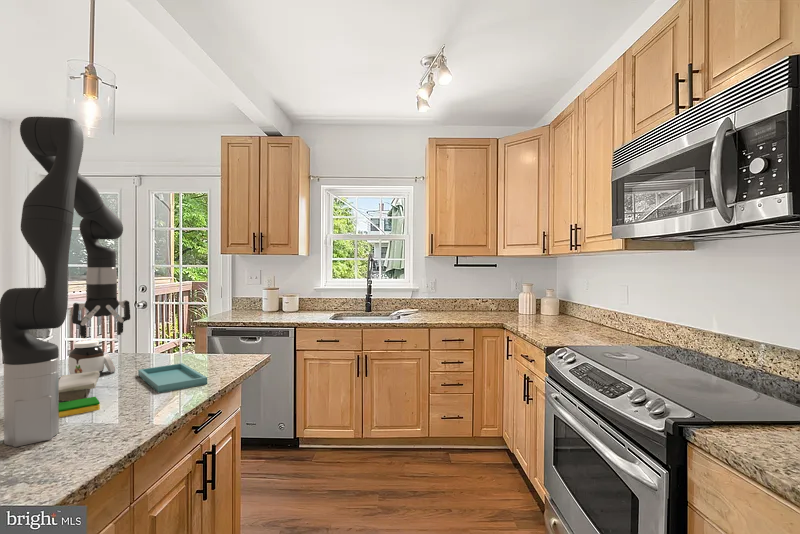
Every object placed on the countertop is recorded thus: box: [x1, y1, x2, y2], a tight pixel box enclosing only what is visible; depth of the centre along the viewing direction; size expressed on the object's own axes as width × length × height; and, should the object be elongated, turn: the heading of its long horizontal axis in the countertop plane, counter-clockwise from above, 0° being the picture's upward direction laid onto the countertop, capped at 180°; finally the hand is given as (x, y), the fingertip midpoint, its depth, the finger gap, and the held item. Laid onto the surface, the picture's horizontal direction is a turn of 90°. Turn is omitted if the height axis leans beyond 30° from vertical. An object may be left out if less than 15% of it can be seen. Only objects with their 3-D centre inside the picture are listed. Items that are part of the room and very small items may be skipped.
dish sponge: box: [59, 396, 101, 418], centre depth 110 cm, size 7×14×2 cm, turn 133°
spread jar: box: [67, 339, 116, 375], centre depth 147 cm, size 12×11×12 cm
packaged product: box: [59, 371, 101, 402], centre depth 125 cm, size 18×5×10 cm
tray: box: [137, 362, 208, 394], centre depth 141 cm, size 26×14×2 cm, turn 43°
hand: (102, 336), depth 128 cm, fingers open, 8 cm apart
